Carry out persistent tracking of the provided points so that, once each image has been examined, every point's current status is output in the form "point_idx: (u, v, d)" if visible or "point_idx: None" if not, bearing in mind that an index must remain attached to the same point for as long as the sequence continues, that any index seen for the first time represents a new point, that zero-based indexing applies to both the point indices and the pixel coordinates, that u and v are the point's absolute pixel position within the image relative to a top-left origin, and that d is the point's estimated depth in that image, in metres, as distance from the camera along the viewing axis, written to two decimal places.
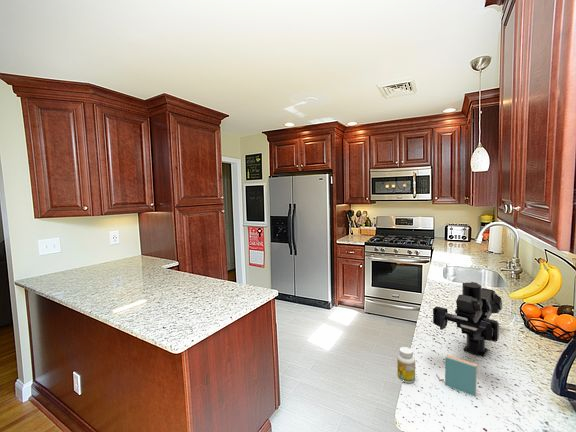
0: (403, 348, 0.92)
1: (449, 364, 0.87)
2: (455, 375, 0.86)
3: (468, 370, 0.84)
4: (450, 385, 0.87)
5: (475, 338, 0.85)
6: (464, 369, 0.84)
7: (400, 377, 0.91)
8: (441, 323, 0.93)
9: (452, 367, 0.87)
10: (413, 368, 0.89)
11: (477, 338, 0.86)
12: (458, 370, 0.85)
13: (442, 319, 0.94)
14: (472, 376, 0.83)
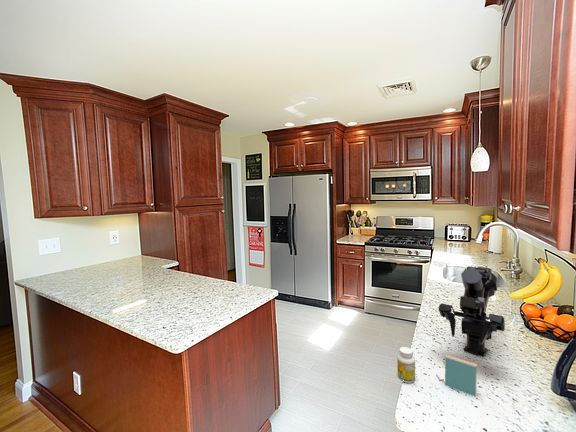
0: (403, 348, 0.92)
1: (449, 364, 0.87)
2: (455, 375, 0.86)
3: (468, 370, 0.84)
4: (450, 385, 0.87)
5: (482, 343, 0.90)
6: (464, 369, 0.84)
7: (400, 377, 0.91)
8: (452, 330, 0.95)
9: (452, 367, 0.87)
10: (413, 368, 0.89)
11: (484, 340, 0.90)
12: (458, 370, 0.85)
13: (452, 323, 0.97)
14: (472, 376, 0.83)
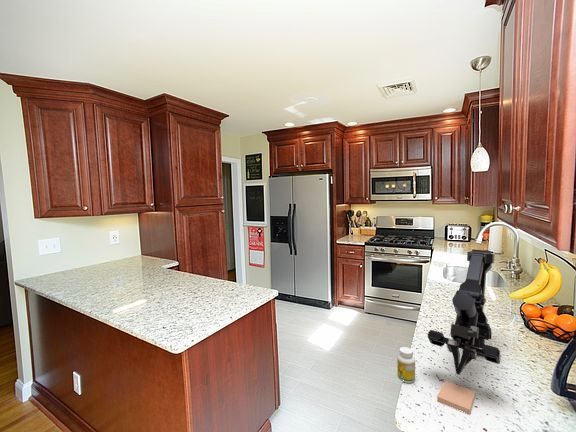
0: (403, 348, 0.92)
1: None
2: None
3: None
4: None
5: (460, 372, 0.83)
6: None
7: (400, 377, 0.91)
8: (456, 366, 0.83)
9: None
10: (413, 368, 0.89)
11: (462, 370, 0.83)
12: None
13: (456, 358, 0.84)
14: None
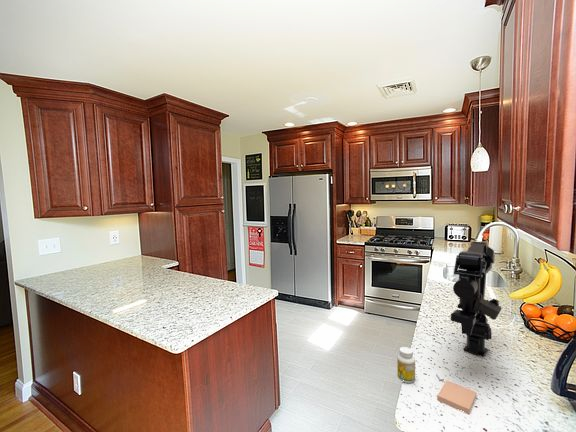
0: (403, 348, 0.92)
1: None
2: None
3: None
4: None
5: None
6: None
7: (400, 377, 0.91)
8: (471, 331, 0.94)
9: None
10: (413, 368, 0.89)
11: None
12: None
13: (472, 326, 0.93)
14: None
